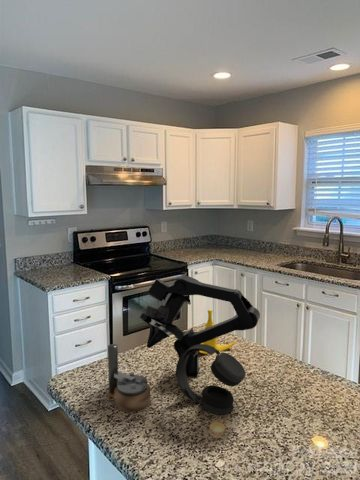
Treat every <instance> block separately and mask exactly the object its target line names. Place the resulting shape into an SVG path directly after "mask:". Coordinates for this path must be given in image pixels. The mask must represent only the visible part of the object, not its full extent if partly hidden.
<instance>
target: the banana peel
mask: <svg viewBox="0 0 360 480" xmlns="http://www.w3.org/2000/svg"><path fill="white" fill-rule="evenodd" d="M207 315H208V316H207V317H208V318H207V322H206V324H205V328H204V329H206V328H208V327H211V326H213V325H215V324H214V321H213V318H212V316H213V309H208V310H207ZM201 344H206V345H209V346H212V347H213V348H215V349H217V350H218V351H219V352H223V351H227V350H228V349H230V348H231V347H233V346H234V345H235V344H236V341H233V342H231V343H229V344H228V343H227V344H224V345H220V344H218V337H217V338H214V339H212V340H209V341H207V342H204V343H201ZM199 353H201V354H205V355H209V354H208V353H207V352H205V351H199Z"/></svg>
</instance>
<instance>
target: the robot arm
mask: <svg viewBox="0 0 360 480" xmlns="http://www.w3.org/2000/svg"><path fill="white" fill-rule="evenodd" d="M147 295H149V296H150V297H152V298H154V299H155V300H157V301H158V302H160V303H163V302H165V304H164V305H163V304H161V305H160V306H159V307H154V306H151V305H147V306H146V309H145V311H144V312H142V313H141V315H140V316H139V319H141V320H142V321H143V322H144V323H146V325H148V327H149V334H148V338H147V343H146V347H147V348H148V349H151V348H152V347H154V346H155V345H157V344H158V343H159V342H161V341H163V340H165V339H167V338H170V334H172V336H174V338H175V339H176V340H175V341H174V344H173V348H174V351H175V352H176V354H177V356H178V359H179V358H180V356H181V355H182V354H183V353H184V352H185V351H187V350H188V349H189V348H190V347H192V346H194V345H197V344H201V343H204V342H207V341H209V340H212V339H214V338H217V339H218V338H219V337H222V336H225V335H227V334H229V333H232V332H234V331H246V330H251V329H254V328H255V327H256V326H257V325H258V323H259V321H260V318H261V314H260V311H259V310H258V309H257V307H255V306H253V305H252V303H251V302H250V301H249V300H248V299H247V298H246V297H245V296H244V295H243V293H242V292H241V291H240V290H239V289H237V288H235V289H233V288H228V287H224V286H219V285H218V286H217V285H214V284H209V283H204V282H201V281H199V279H196V278H194V277H191V276H189V275H183V276H181V277H179V278H177V279H176V280H175V281H174V283H171V284H168V283H166V282H164V281H163V280H161V279H160V278H156V279H155V280H154V282H153V283H152V285H151V287H149V289H148V292H147ZM190 296H202V297H206V298H211V299H215V300H219V301H224V302H229V303H230V304H231V305H232V308H233V309H234V312H235V313H236V315H234V316H233V317H230V318H228V319H226V320H223V321H221V322H218V323H216V324H214V325H213V326H211V327H208V328H206V329H205V328H204V329H202V330H199V331H194V329H193V328H190V329H188V330H186V331H185V330H184V331H183V330H181V328H179V327H178V326H177V325H175V324H173V323H174V321H175V319H177V320H179V318H180V316H179V313H180V312H181V310H182V308H183V306H184V305H185V303H186V304H188V305H191V299H190V298H191V297H190ZM194 350H196V349H193V350H189V351H188V352H187V353H186V354H185V356H184V359H183V362H184V360H185V358H186V356H187V355H188V354H189V353H190V352H192V351H194ZM199 353H200V352H199V351H196V352H193V353H191V354H190V355H189V357H188V360H187V363H186V375H187V377H190V378H191V377H192V378H198V376H199V373H200V365H199V364H200V363H199V361H200V356H199ZM183 362H182V365H183Z"/></svg>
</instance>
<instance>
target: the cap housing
mask: <svg viewBox="0 0 360 480" xmlns="http://www.w3.org/2000/svg"><path fill="white" fill-rule="evenodd" d="M106 397H108V398H110V397H111V398H114V406H115V407H116V409H118V410H120V411H123V412H127V413H128V412H133V413H134V412H139V411H141V410H144V409H146V408H148V407H149V405H150V404H151V401H152V399H151V386H150V384H149V383H147V390H146V391H145V392H144V393H142V394H140V395H136V396H125V395H122V394H120V393H119V392H118V386H116V388H115V390H114V393H110V392H109V391H108V393H107V395H106Z"/></svg>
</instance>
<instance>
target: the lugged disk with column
mask: <svg viewBox="0 0 360 480" xmlns="http://www.w3.org/2000/svg"><path fill="white" fill-rule="evenodd" d="M118 349H119V348H118V344H117V343H111V344H108V345H107V362H108V363H107V365H108V366H107V367H108V369H107V370H108V393H109V392H110V393H114V390H115V388H116V386H118V392H119V393H120V394H122V395H125V396H136V395H140V394H142V393H144V392H145V391H146V390H147V384H148V380H147V376H142V375H137V374H135V372H134V371H133V372H131V371H130V372H129V373H128V374H126V373H124V372H121V371H119V359H118V358H119V357H118V355H119V354H118V353H119V352H118Z"/></svg>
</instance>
